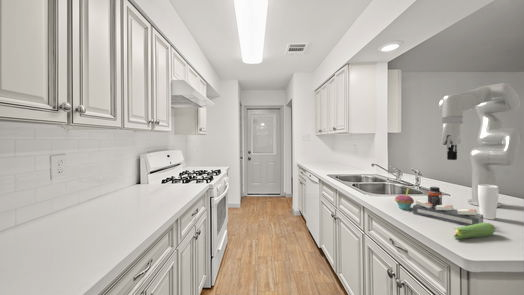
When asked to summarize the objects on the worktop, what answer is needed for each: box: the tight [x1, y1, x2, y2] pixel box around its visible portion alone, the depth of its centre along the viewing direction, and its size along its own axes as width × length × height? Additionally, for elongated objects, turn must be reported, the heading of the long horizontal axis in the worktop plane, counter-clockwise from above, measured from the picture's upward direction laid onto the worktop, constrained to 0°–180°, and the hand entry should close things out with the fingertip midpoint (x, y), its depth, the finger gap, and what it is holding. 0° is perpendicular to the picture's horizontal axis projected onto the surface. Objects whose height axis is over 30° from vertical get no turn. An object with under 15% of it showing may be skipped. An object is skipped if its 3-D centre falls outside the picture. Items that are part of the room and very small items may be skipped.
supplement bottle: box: [427, 186, 443, 206], centre depth 120 cm, size 6×6×11 cm
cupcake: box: [394, 186, 415, 211], centre depth 121 cm, size 9×8×12 cm
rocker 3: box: [457, 208, 478, 215], centre depth 97 cm, size 3×6×2 cm, turn 35°
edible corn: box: [453, 222, 496, 240], centre depth 86 cm, size 5×20×5 cm
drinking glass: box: [478, 184, 500, 221], centre depth 104 cm, size 7×7×15 cm
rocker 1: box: [415, 199, 432, 208], centre depth 110 cm, size 3×6×2 cm, turn 35°
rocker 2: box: [435, 204, 454, 210], centre depth 104 cm, size 3×6×2 cm, turn 35°
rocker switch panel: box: [412, 203, 484, 226], centre depth 105 cm, size 8×24×4 cm, turn 35°
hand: (452, 159), depth 107 cm, fingers closed
